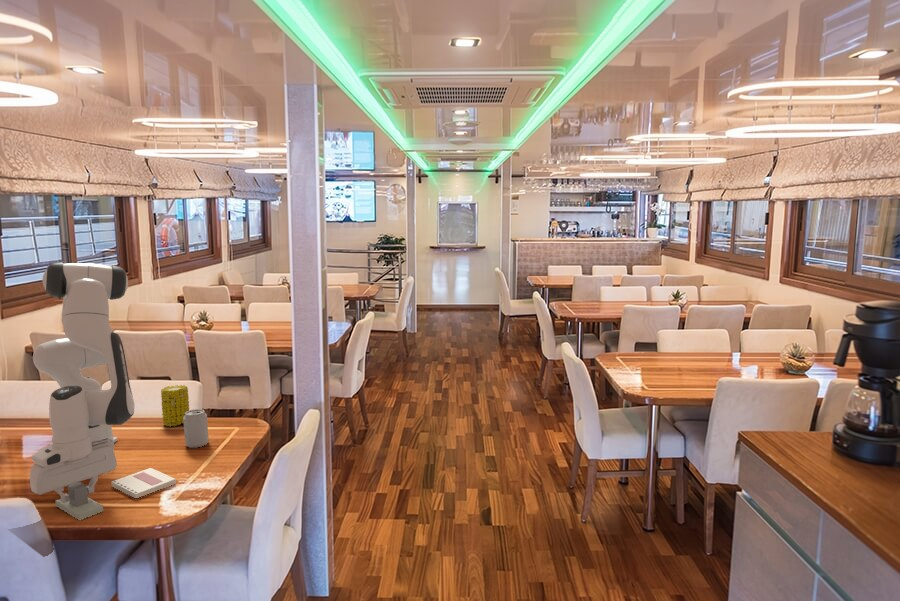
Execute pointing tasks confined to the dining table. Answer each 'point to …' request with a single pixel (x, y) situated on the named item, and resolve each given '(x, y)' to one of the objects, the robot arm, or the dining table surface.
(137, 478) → the spiral notepad
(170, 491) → the dining table surface
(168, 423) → the food
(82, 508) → the stub
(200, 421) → the can
